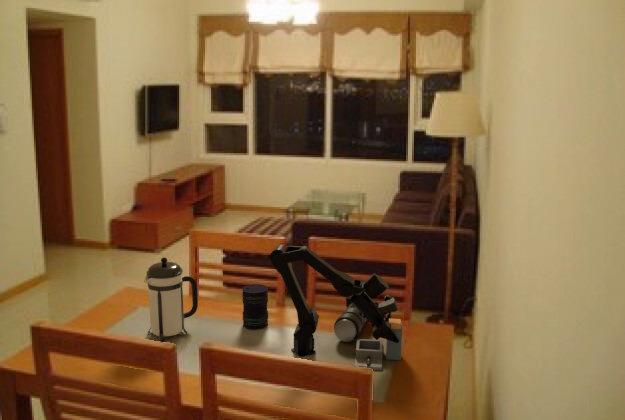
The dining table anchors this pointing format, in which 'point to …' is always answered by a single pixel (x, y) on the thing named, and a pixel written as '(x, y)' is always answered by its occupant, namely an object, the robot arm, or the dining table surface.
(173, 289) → the coffee press
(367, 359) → the end holder
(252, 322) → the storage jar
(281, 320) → the dining table surface
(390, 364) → the dining table surface
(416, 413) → the dining table surface
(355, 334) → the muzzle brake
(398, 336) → the orange-capped square pillar
